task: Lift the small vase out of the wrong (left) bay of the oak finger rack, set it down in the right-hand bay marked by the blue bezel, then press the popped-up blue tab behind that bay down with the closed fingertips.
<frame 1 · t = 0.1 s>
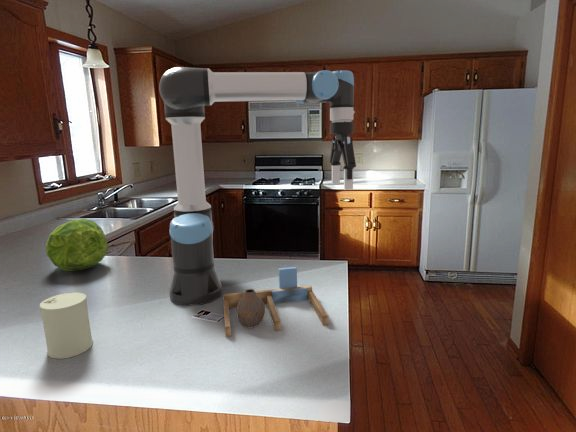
hand: (341, 186, 134), 28 cm above the countertop, fingers open, 13 cm apart
lettuce: (77, 268, 146), on the countertop
vase: (251, 324, 100), on the countertop
rack: (272, 314, 104), on the countertop
can: (70, 348, 91), on the countertop
tab: (287, 278, 113), point 6 cm above the countertop, slide at 3.0 cm
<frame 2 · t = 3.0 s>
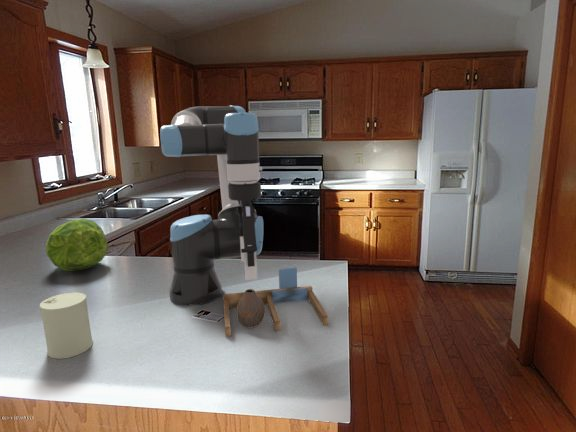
hand: (248, 269, 97), 14 cm above the countertop, fingers open, 13 cm apart
nothing on the countertop moved.
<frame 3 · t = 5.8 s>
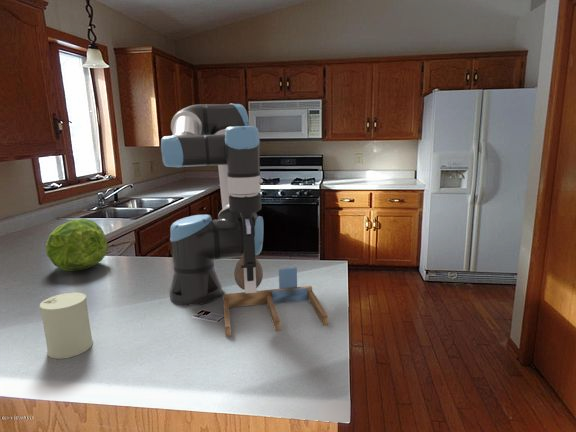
hand: (249, 285, 98), 10 cm above the countertop, fingers closed on vase, 7 cm apart
vase: (249, 287, 99), point 9 cm above the countertop, touching gripper
everything else where it was.
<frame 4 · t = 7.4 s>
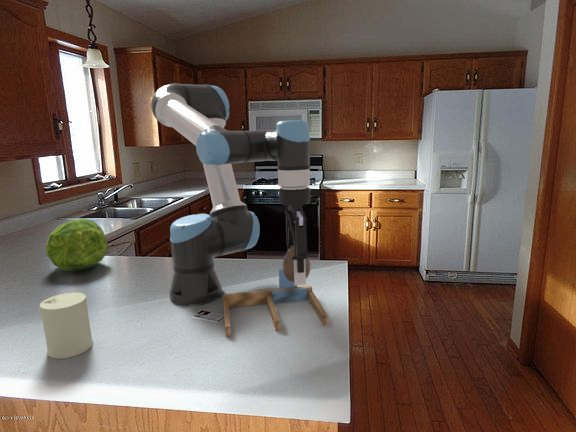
hand: (296, 278, 100), 11 cm above the countertop, fingers closed on vase, 7 cm apart
vase: (296, 280, 100), point 10 cm above the countertop, touching gripper
everything else where it was.
when the fingers open (1 cm above the countertop, at t = 9.4 s): vase stays where it is, on the countertop.
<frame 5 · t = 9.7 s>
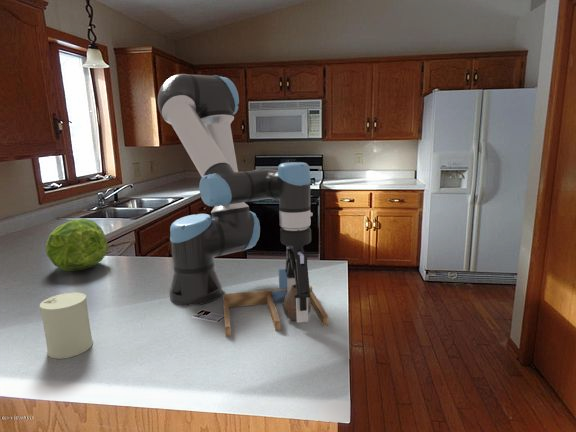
hand: (297, 310, 102), 2 cm above the countertop, fingers open, 11 cm apart
vase: (297, 319, 102), on the countertop
everything else where it was.
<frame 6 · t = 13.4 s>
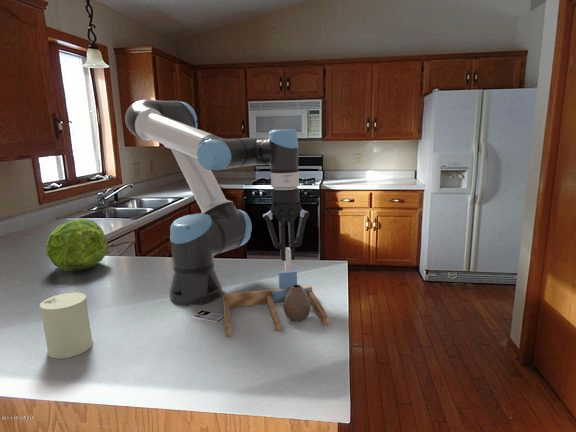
hand: (288, 270, 113), 8 cm above the countertop, fingers closed
tab: (287, 281, 113), point 5 cm above the countertop, slide at 2.0 cm, touching gripper
everything else where it was.
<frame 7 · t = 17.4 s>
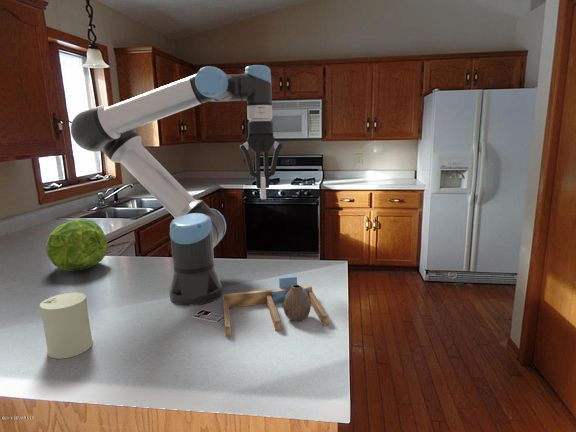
hand: (263, 198, 125), 26 cm above the countertop, fingers closed
tab: (288, 287, 114), point 3 cm above the countertop, slide at 0.4 cm
everything else where it was.
at the end: vase inside the target area (2.4 cm from its centre), on the countertop; vase tilted 0°; tab slide at 0.4 cm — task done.
